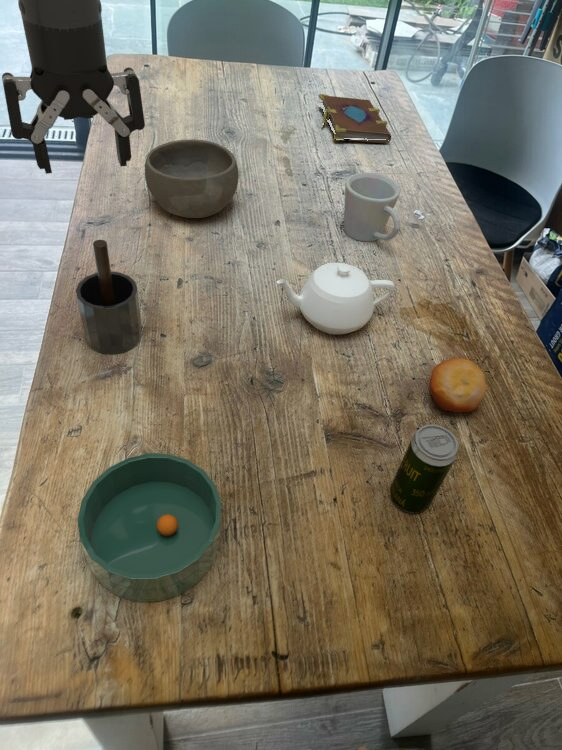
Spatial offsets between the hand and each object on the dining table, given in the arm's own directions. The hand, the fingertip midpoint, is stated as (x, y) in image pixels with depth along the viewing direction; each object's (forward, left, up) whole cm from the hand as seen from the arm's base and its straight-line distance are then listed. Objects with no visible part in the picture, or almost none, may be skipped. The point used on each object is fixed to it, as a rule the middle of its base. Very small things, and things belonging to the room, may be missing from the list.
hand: (85, 166), depth 69 cm
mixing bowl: (-1, -35, -28) cm, 44 cm away
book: (+70, +65, -28) cm, 100 cm away
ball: (+1, -35, -26) cm, 43 cm away
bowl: (+21, +34, -28) cm, 49 cm away
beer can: (+31, -39, -28) cm, 57 cm away
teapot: (+35, -4, -28) cm, 45 cm away
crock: (0, 0, -28) cm, 28 cm away
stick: (0, 0, -27) cm, 27 cm away
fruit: (+45, -26, -28) cm, 59 cm away
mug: (+52, +16, -28) cm, 62 cm away
